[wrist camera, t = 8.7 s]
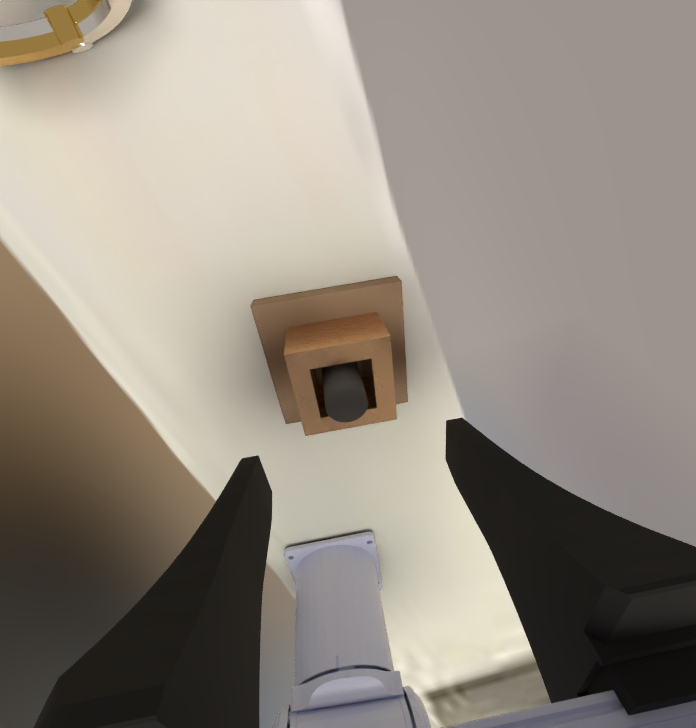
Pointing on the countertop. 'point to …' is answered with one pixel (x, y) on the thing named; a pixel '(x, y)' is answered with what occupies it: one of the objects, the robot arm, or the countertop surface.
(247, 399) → the countertop surface
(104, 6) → the ring
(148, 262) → the countertop surface
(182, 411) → the countertop surface
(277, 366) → the peg board
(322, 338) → the collar
